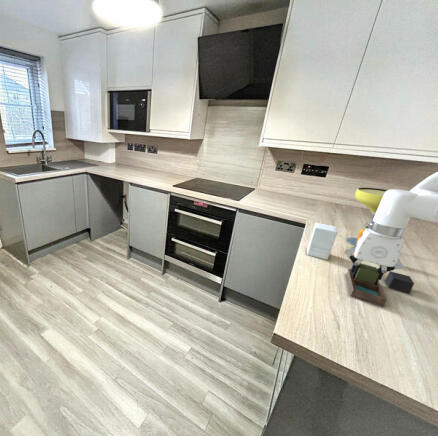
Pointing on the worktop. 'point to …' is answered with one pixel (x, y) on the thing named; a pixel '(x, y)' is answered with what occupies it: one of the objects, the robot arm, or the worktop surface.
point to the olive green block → (367, 273)
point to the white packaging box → (321, 240)
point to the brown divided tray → (365, 290)
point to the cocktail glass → (368, 201)
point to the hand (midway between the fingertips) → (364, 276)
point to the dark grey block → (399, 282)
